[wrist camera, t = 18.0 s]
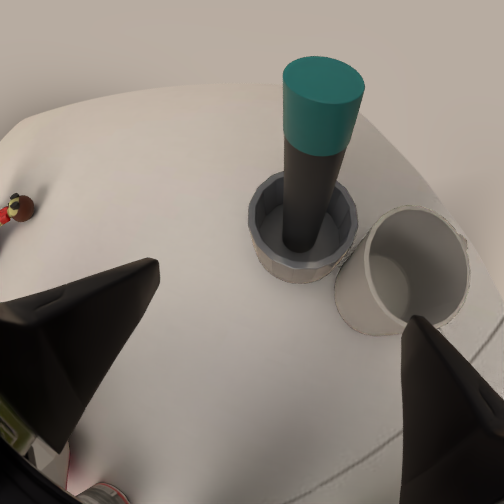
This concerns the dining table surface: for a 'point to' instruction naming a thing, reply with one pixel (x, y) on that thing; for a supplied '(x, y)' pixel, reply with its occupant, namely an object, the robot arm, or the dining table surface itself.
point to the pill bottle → (103, 495)
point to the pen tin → (327, 243)
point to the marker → (315, 141)
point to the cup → (404, 273)
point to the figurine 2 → (17, 209)
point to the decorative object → (52, 462)
